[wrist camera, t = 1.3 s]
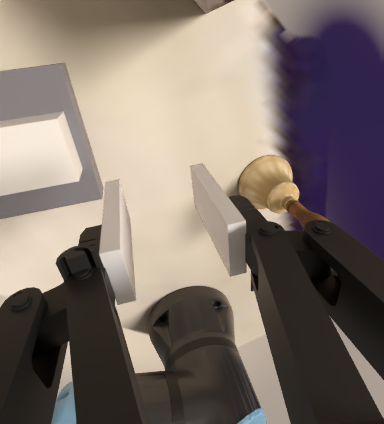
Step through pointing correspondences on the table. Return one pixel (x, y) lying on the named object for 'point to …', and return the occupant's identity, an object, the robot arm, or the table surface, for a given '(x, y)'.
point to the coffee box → (211, 4)
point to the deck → (39, 105)
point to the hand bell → (274, 188)
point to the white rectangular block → (37, 153)
